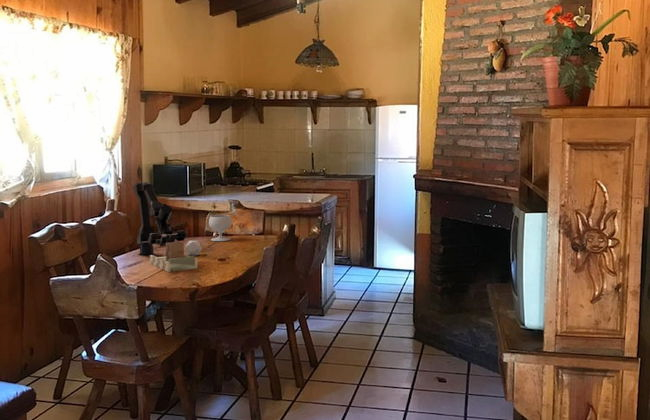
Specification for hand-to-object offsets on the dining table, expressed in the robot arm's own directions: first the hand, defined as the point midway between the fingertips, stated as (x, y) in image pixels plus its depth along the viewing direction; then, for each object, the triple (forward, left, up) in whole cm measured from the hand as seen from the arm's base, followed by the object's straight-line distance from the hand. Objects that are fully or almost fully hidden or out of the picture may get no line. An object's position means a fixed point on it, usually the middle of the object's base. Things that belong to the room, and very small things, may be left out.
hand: (172, 250), depth 335 cm
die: (-6, +28, -8) cm, 30 cm away
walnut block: (+3, -2, -5) cm, 6 cm away
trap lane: (0, 0, -8) cm, 8 cm away
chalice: (-17, +75, -8) cm, 78 cm away
